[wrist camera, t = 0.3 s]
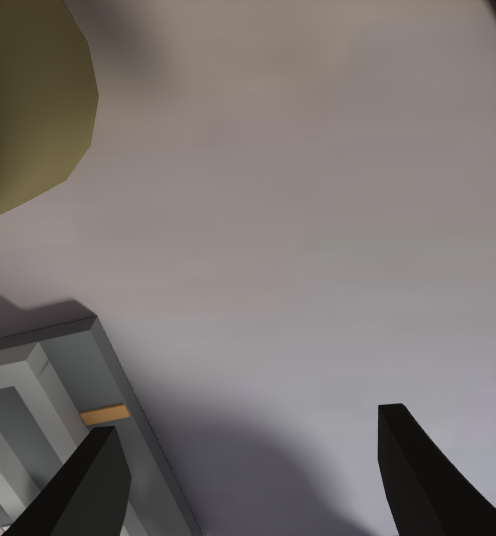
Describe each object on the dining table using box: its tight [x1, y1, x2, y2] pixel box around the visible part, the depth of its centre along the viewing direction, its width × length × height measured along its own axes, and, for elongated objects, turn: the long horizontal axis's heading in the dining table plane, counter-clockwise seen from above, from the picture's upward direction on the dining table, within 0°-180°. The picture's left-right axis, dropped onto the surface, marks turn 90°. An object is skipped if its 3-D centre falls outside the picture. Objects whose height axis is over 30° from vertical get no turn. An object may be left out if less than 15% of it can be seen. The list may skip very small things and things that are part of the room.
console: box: [0, 316, 203, 536], centre depth 26 cm, size 18×11×3 cm, turn 15°
